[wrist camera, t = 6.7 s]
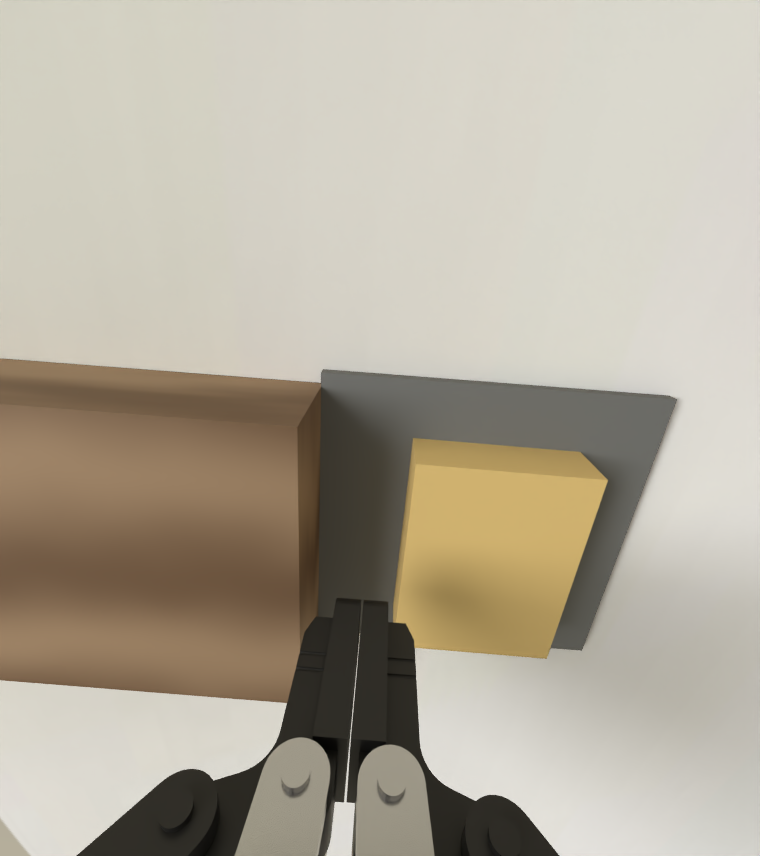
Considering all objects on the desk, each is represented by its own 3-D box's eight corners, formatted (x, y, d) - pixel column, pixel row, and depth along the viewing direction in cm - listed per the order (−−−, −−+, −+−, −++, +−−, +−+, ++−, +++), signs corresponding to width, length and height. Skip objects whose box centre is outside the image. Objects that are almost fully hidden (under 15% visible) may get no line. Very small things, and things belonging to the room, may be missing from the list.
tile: (607, 480, 12) (580, 452, 14) (415, 463, 12) (413, 438, 14) (546, 658, 15) (530, 616, 17) (393, 645, 15) (393, 604, 17)
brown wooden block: (-102, 350, 14) (-279, 382, 10) (323, 383, 14) (297, 426, 10) (-6, 588, 18) (-108, 671, 15) (319, 614, 18) (300, 704, 14)
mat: (323, 369, 14) (321, 372, 13) (669, 395, 14) (677, 399, 13) (319, 622, 18) (318, 629, 18) (578, 642, 18) (581, 650, 18)
